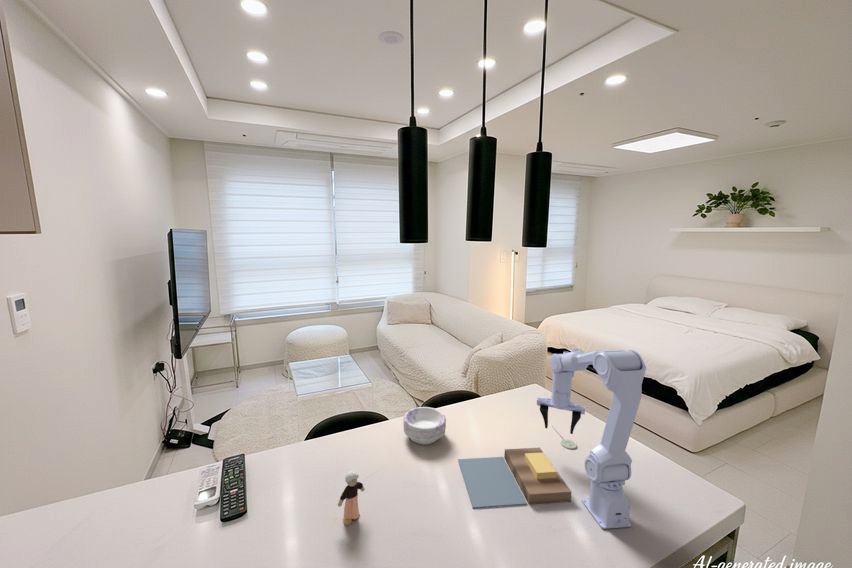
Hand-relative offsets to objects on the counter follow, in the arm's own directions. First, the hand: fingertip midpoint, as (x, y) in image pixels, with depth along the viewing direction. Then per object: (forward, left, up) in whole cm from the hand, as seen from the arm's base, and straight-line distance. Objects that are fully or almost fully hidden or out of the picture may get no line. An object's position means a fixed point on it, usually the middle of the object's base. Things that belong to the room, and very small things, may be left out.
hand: (558, 429), depth 112 cm
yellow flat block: (-9, +10, -7) cm, 15 cm away
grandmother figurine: (-19, +65, -10) cm, 68 cm away
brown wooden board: (-9, +12, -10) cm, 18 cm away
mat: (-9, +26, -10) cm, 29 cm away
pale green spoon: (+11, -7, -10) cm, 17 cm away
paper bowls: (+15, +43, -10) cm, 46 cm away
